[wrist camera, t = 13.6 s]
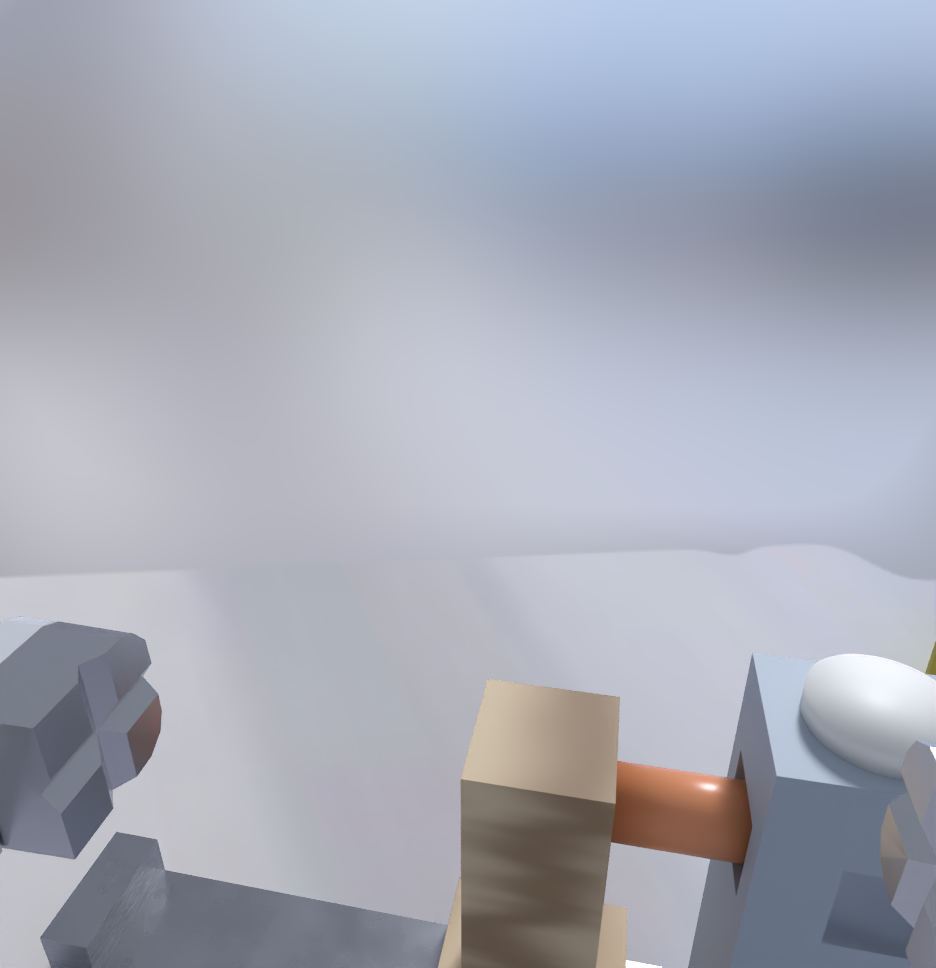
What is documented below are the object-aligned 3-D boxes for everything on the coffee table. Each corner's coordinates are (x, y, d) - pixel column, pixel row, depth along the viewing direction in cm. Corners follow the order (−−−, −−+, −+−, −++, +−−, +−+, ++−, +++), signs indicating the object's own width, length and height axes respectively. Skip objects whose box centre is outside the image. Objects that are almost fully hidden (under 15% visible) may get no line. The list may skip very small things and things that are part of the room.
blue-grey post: (686, 1145, 28) (782, 752, 19) (681, 1002, 32) (756, 631, 24) (867, 1187, 27) (1050, 790, 18) (835, 1033, 31) (971, 657, 23)
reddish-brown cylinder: (607, 858, 24) (613, 803, 23) (609, 797, 26) (615, 744, 25) (794, 891, 23) (810, 835, 22) (781, 825, 25) (795, 770, 24)
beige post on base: (418, 1080, 27) (405, 807, 22) (459, 900, 34) (458, 650, 28) (619, 1126, 26) (664, 851, 20) (623, 931, 32) (659, 676, 26)
